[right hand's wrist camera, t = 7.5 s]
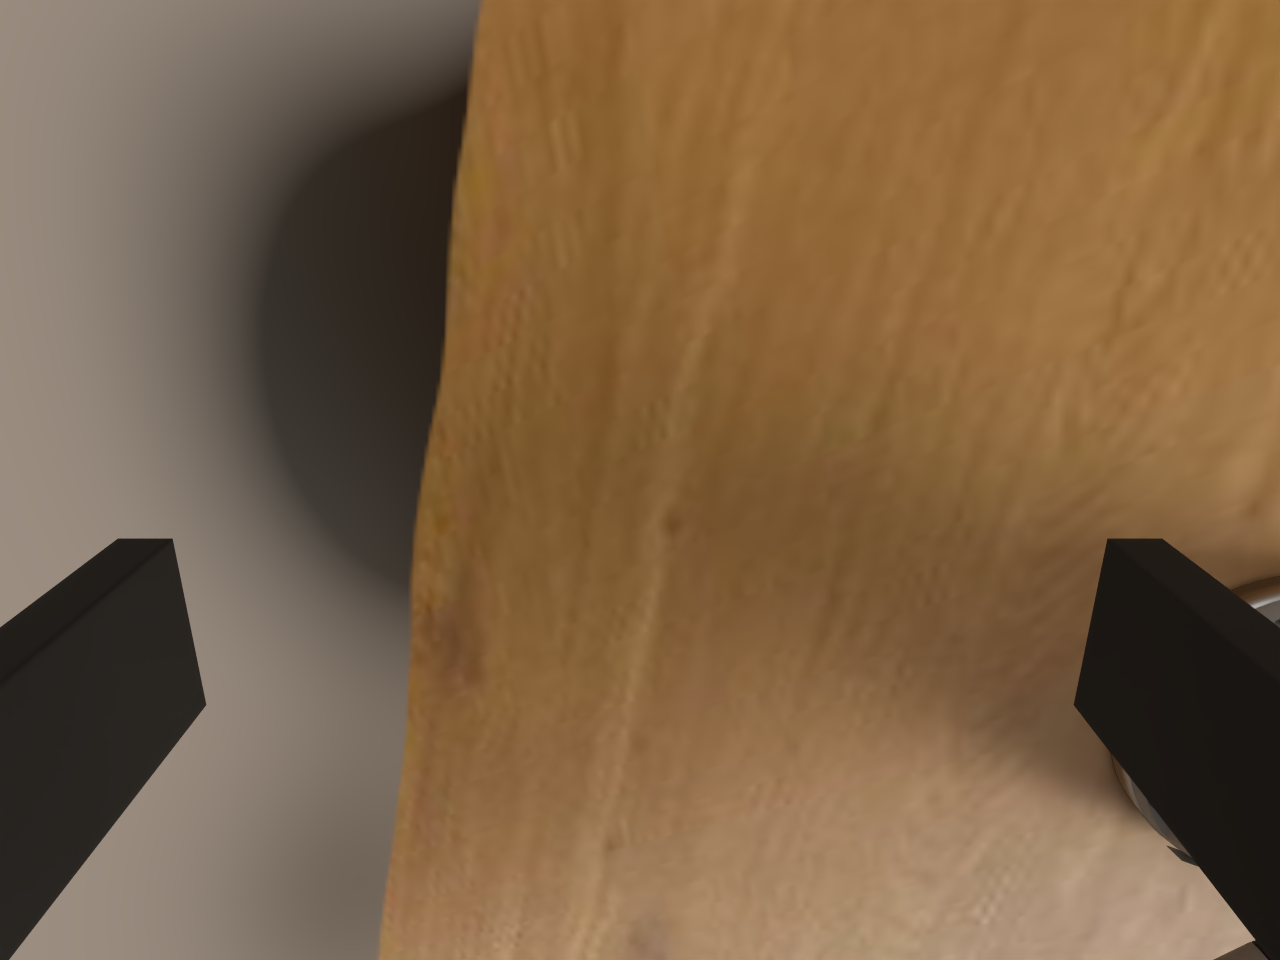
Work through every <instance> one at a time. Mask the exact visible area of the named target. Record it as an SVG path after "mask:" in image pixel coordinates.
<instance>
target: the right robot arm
mask: <svg viewBox="0 0 1280 960" xmlns="http://www.w3.org/2000/svg"><path fill="white" fill-rule="evenodd" d="M205 706H206V702H205V697H204V692H203V687H202V682H201V677H200V672H199V667H198V662H197V657H196V652H195V647H194V642H193V637H192V633H191V628H190V623H189V618H188V613H187V608H186V603H185V598H184V593H183V588H182V583H181V578H180V573H179V568H178V563H177V558H176V553H175V549H174V544H173V539H117V540H116V541H114V542H113V543H112V544H110V545H109V546H108V547H106V548H105V549H104V550H102V551H101V552H100V553H98V554H97V555H96V556H94V557H93V558H92V559H90V560H89V561H88V562H86V563H85V564H84V565H82V566H81V567H80V568H78V569H77V570H76V571H74V572H73V573H72V574H70V575H69V576H68V577H66V578H65V579H64V580H63V581H61V582H60V583H59V584H57V585H56V586H55V587H53V588H52V589H51V590H49V591H48V592H47V593H45V594H44V595H43V596H41V597H40V598H39V599H37V600H36V601H35V602H33V603H32V604H31V605H29V606H28V607H27V608H25V609H24V610H23V611H21V612H20V613H19V614H17V615H16V616H15V617H14V618H12V619H11V620H10V621H8V622H7V623H6V624H4V625H3V626H2V627H0V960H9V959H10V958H11V957H12V955H13V954H14V953H15V951H16V950H17V949H18V947H19V946H20V945H21V944H22V942H23V941H24V940H25V938H26V937H27V936H28V934H29V933H30V932H31V931H32V929H33V928H34V927H35V925H36V924H37V923H38V922H39V920H40V919H41V918H42V916H43V915H44V914H45V912H46V911H47V910H48V909H49V907H50V906H51V905H52V903H53V902H54V901H55V900H56V898H57V897H58V896H59V894H60V893H61V892H62V891H63V889H64V888H65V887H66V885H67V884H68V883H69V882H70V880H71V879H72V878H73V876H74V875H75V874H76V873H77V871H78V870H79V869H80V867H81V866H82V865H83V863H84V862H85V861H86V860H87V858H88V857H89V856H90V854H91V853H92V852H93V851H94V849H95V848H96V847H97V845H98V844H99V843H100V842H101V840H102V839H103V838H104V836H105V835H106V834H107V832H108V831H109V830H110V829H111V827H112V826H113V825H114V823H115V822H116V821H117V820H118V818H119V817H120V816H121V814H122V813H123V812H124V810H125V809H126V808H127V807H128V805H129V804H130V803H131V801H132V800H133V799H134V798H135V796H136V795H137V794H138V792H139V791H140V790H141V789H142V787H143V786H144V785H145V783H146V782H147V781H148V780H149V778H150V777H151V776H152V774H153V773H154V772H155V770H156V769H157V768H158V767H159V765H160V764H161V763H162V761H163V760H164V759H165V758H166V756H167V755H168V754H169V752H170V751H171V750H172V748H173V747H174V746H175V745H176V743H177V742H178V741H179V739H180V738H181V737H182V736H183V734H184V733H185V732H186V730H187V729H188V728H189V727H190V725H191V724H192V723H193V721H194V720H195V719H196V718H197V716H198V715H199V714H200V712H201V711H202V710H203V708H204V707H205ZM1074 706H1075V707H1076V708H1077V710H1078V711H1079V712H1080V714H1081V715H1082V716H1083V718H1084V719H1085V720H1086V721H1087V723H1088V724H1089V725H1090V727H1091V728H1092V729H1093V730H1094V732H1095V733H1096V734H1097V736H1098V737H1099V738H1100V739H1101V741H1102V742H1103V743H1104V745H1105V746H1106V747H1107V749H1108V750H1109V751H1110V752H1111V754H1112V760H1113V763H1114V767H1115V771H1116V774H1117V776H1118V778H1119V781H1120V783H1121V785H1122V786H1123V788H1124V790H1125V792H1126V793H1127V795H1128V796H1129V797H1130V799H1131V800H1132V801H1133V803H1134V804H1135V805H1136V807H1137V808H1138V809H1139V811H1140V812H1141V813H1142V815H1143V816H1144V817H1145V819H1146V820H1147V821H1148V822H1149V824H1150V825H1151V826H1152V827H1153V828H1154V829H1155V830H1156V831H1157V832H1158V833H1159V834H1160V835H1161V836H1163V837H1164V838H1165V839H1166V840H1168V841H1169V842H1170V843H1172V844H1173V845H1174V846H1175V847H1177V848H1178V849H1179V850H1178V849H1175V848H1172V847H1169V846H1167V845H1166V846H1167V847H1168V848H1169V849H1170V850H1171V851H1172V852H1174V853H1175V854H1176V855H1177V856H1178V857H1179V858H1180V859H1181V860H1182V861H1184V862H1187V863H1190V864H1193V865H1196V866H1199V867H1200V869H1201V870H1202V871H1203V873H1204V874H1205V875H1206V876H1207V878H1208V879H1209V880H1210V882H1211V883H1212V884H1213V885H1214V887H1215V888H1216V889H1217V891H1218V892H1219V893H1220V895H1221V896H1222V897H1223V898H1224V900H1225V901H1226V902H1227V904H1228V905H1229V906H1230V907H1231V909H1232V910H1233V911H1234V913H1235V914H1236V915H1237V916H1238V918H1239V919H1240V920H1241V922H1242V923H1243V924H1244V926H1245V927H1246V928H1247V929H1248V931H1249V932H1250V933H1251V935H1252V936H1253V937H1254V938H1255V941H1252V942H1249V943H1247V944H1245V945H1243V946H1241V947H1239V948H1237V949H1235V950H1233V951H1231V952H1229V953H1227V954H1224V955H1222V956H1220V957H1218V958H1216V959H1214V960H1280V576H1278V577H1273V578H1269V579H1265V580H1261V581H1257V582H1254V583H1251V584H1248V585H1244V586H1241V587H1239V588H1236V589H1234V590H1232V591H1231V590H1229V589H1228V588H1227V587H1225V586H1224V585H1223V584H1221V583H1220V582H1219V581H1217V580H1216V579H1215V578H1214V577H1212V576H1211V575H1210V574H1208V573H1207V572H1206V571H1204V570H1203V569H1202V568H1200V567H1199V566H1198V565H1196V564H1195V563H1194V562H1192V561H1191V560H1190V559H1188V558H1187V557H1186V556H1184V555H1183V554H1182V553H1180V552H1179V551H1178V550H1176V549H1175V548H1174V547H1172V546H1171V545H1170V544H1168V543H1167V542H1166V541H1164V540H1163V539H1107V544H1106V549H1105V553H1104V558H1103V563H1102V568H1101V573H1100V578H1099V583H1098V588H1097V593H1096V598H1095V603H1094V608H1093V613H1092V618H1091V623H1090V628H1089V632H1088V637H1087V642H1086V647H1085V652H1084V657H1083V662H1082V667H1081V672H1080V677H1079V682H1078V687H1077V692H1076V697H1075V702H1074Z"/></svg>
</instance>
